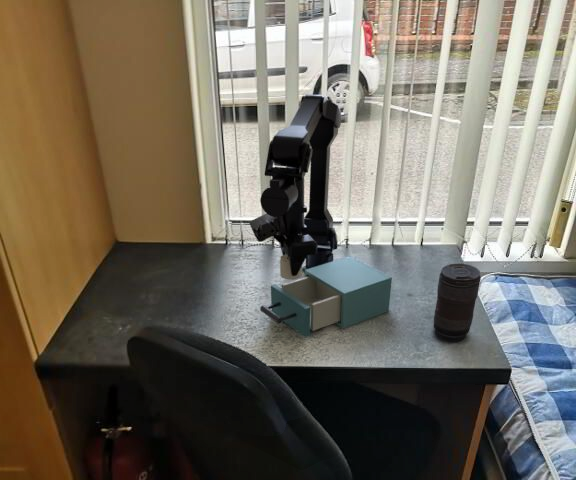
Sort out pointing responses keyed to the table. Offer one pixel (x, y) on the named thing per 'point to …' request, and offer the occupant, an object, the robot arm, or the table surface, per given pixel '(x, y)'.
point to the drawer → (304, 305)
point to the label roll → (287, 268)
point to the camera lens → (456, 301)
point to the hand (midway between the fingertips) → (291, 270)
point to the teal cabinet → (355, 288)
